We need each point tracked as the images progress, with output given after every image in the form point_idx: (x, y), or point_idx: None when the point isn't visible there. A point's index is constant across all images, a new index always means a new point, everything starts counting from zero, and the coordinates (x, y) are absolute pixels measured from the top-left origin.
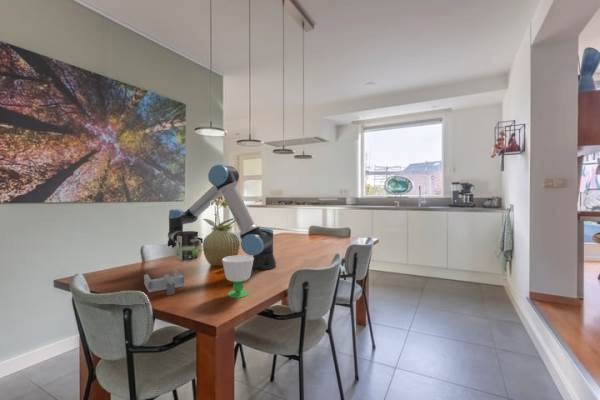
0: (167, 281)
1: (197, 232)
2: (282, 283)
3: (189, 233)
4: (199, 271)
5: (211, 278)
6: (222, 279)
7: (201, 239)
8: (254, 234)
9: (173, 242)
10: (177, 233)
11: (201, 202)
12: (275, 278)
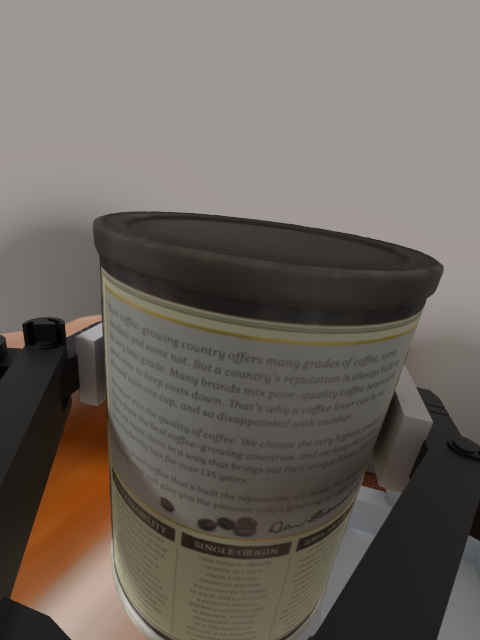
0: None
1: (174, 213)
2: (71, 326)
3: (272, 228)
4: None
5: (107, 509)
6: (100, 453)
7: (5, 345)
8: None
9: (442, 430)
10: (421, 252)
11: None
12: (20, 345)
